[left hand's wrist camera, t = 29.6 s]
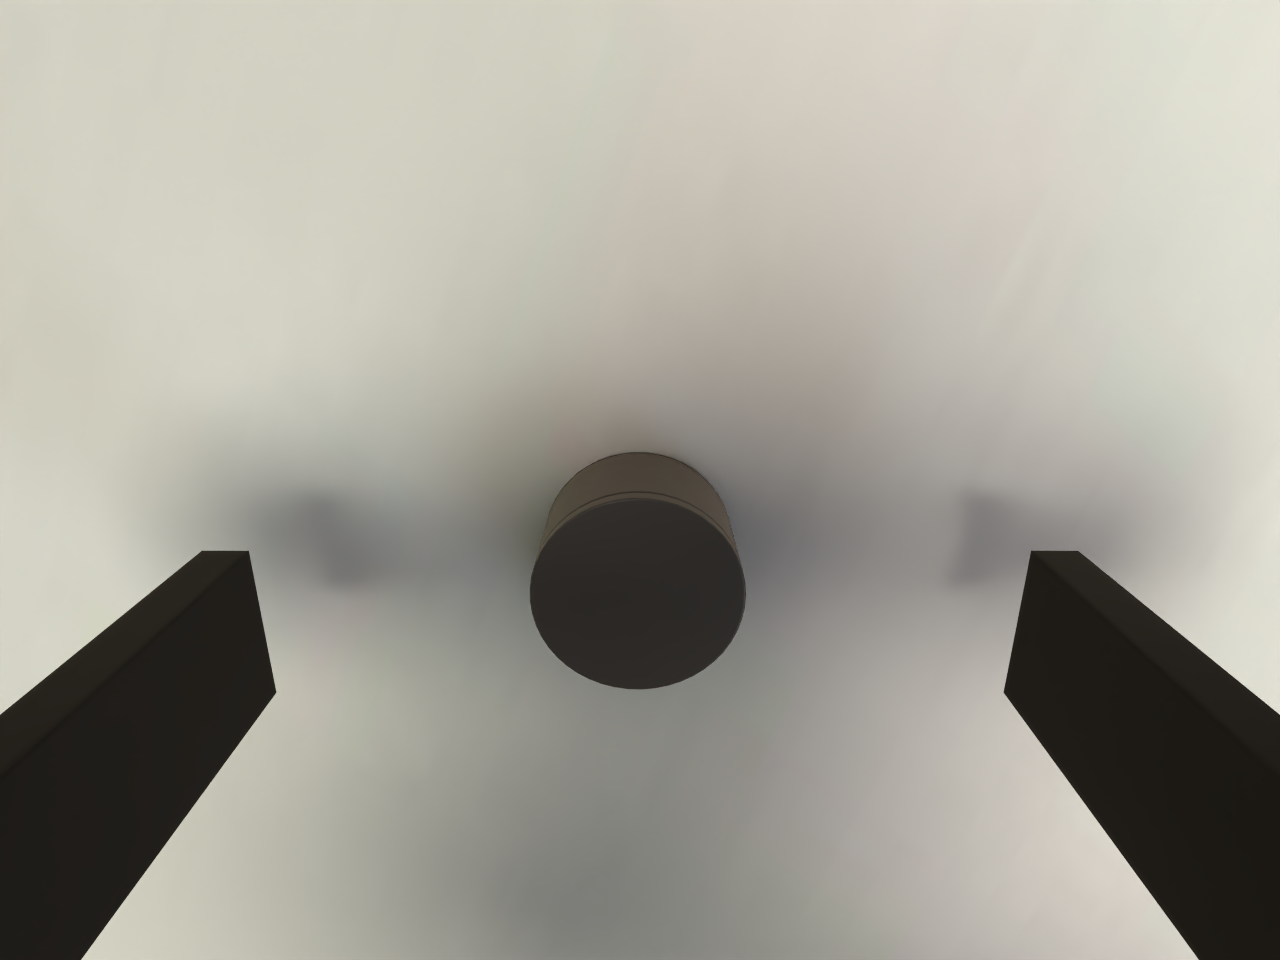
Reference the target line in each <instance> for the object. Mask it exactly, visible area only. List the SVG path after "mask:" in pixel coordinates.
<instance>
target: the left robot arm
mask: <svg viewBox="0 0 1280 960" xmlns="http://www.w3.org/2000/svg"><path fill="white" fill-rule="evenodd" d="M275 694H276V689H275V683H274V678H273V673H272V668H271V663H270V658H269V653H268V647H267V642H266V637H265V632H264V627H263V622H262V617H261V612H260V606H259V601H258V596H257V591H256V586H255V581H254V576H253V571H252V565H251V560H250V555H249V551H201V552H200V553H199V554H198V555H196V556H195V557H194V558H193V559H191V560H190V561H189V562H188V563H186V564H185V565H184V566H183V567H182V568H180V569H179V570H178V571H177V572H175V573H174V574H173V575H172V576H170V577H169V578H168V579H167V580H166V581H164V582H163V583H162V584H161V585H159V586H158V587H157V588H156V589H154V590H153V591H152V592H151V593H150V594H148V595H147V596H146V597H145V598H143V599H142V600H141V601H140V602H138V603H137V604H136V605H135V606H134V607H132V608H131V609H130V610H129V611H127V612H126V613H125V614H124V615H122V616H121V617H120V618H119V619H118V620H116V621H115V622H114V623H113V624H111V625H110V626H109V627H108V628H106V629H105V630H104V631H103V632H102V633H100V634H99V635H98V636H97V637H95V638H94V639H93V640H92V641H91V642H89V643H88V644H87V645H86V646H84V647H83V648H82V649H81V650H79V651H78V652H77V653H76V654H75V655H73V656H72V657H71V658H70V659H68V660H67V661H66V662H65V663H63V664H62V665H61V666H60V667H59V668H57V669H56V670H55V671H54V672H52V673H51V674H50V675H49V676H47V677H46V678H45V679H44V680H43V681H41V682H40V683H39V684H38V685H36V686H35V687H34V688H33V689H31V690H30V691H29V692H28V693H27V694H25V695H24V696H23V697H22V698H20V699H19V700H18V701H17V702H15V703H14V704H13V705H12V706H11V707H9V708H8V709H7V710H6V711H4V712H3V713H2V714H1V715H0V960H81V959H82V958H83V956H84V955H85V953H86V952H87V951H88V949H89V948H90V947H91V945H92V944H93V943H94V941H95V940H96V938H97V937H98V936H99V934H100V933H101V932H102V930H103V929H104V927H105V926H106V925H107V923H108V922H109V921H110V919H111V918H112V917H113V915H114V914H115V912H116V911H117V910H118V908H119V907H120V906H121V904H122V903H123V902H124V900H125V899H126V897H127V896H128V895H129V893H130V892H131V891H132V889H133V888H134V886H135V885H136V884H137V882H138V881H139V880H140V878H141V877H142V876H143V874H144V873H145V871H146V870H147V869H148V867H149V866H150V865H151V863H152V862H153V860H154V859H155V858H156V856H157V855H158V854H159V852H160V851H161V850H162V848H163V847H164V845H165V844H166V843H167V841H168V840H169V839H170V837H171V836H172V834H173V833H174V832H175V830H176V829H177V828H178V826H179V825H180V824H181V822H182V821H183V819H184V818H185V817H186V815H187V814H188V813H189V811H190V810H191V808H192V807H193V806H194V804H195V803H196V802H197V800H198V799H199V798H200V796H201V795H202V793H203V792H204V791H205V789H206V788H207V787H208V785H209V784H210V782H211V781H212V780H213V778H214V777H215V776H216V774H217V773H218V772H219V770H220V769H221V767H222V766H223V765H224V763H225V762H226V761H227V759H228V758H229V756H230V755H231V754H232V752H233V751H234V750H235V748H236V747H237V746H238V744H239V743H240V741H241V740H242V739H243V737H244V736H245V735H246V733H247V732H248V730H249V729H250V728H251V726H252V725H253V724H254V722H255V721H256V720H257V718H258V717H259V715H260V714H261V713H262V711H263V710H264V709H265V707H266V706H267V704H268V703H269V702H270V700H271V699H272V698H273V696H274V695H275ZM1004 694H1005V695H1006V696H1007V698H1008V699H1009V700H1010V702H1011V703H1012V705H1013V706H1014V707H1015V709H1016V710H1017V711H1018V713H1019V714H1020V715H1021V717H1022V718H1023V720H1024V721H1025V722H1026V724H1027V725H1028V726H1029V728H1030V729H1031V731H1032V732H1033V733H1034V735H1035V736H1036V737H1037V739H1038V740H1039V741H1040V743H1041V744H1042V746H1043V747H1044V748H1045V750H1046V751H1047V752H1048V754H1049V755H1050V757H1051V758H1052V759H1053V761H1054V762H1055V763H1056V765H1057V766H1058V767H1059V769H1060V770H1061V772H1062V773H1063V774H1064V776H1065V777H1066V778H1067V780H1068V781H1069V783H1070V784H1071V785H1072V787H1073V788H1074V789H1075V791H1076V792H1077V793H1078V795H1079V796H1080V798H1081V799H1082V800H1083V802H1084V803H1085V804H1086V806H1087V807H1088V809H1089V810H1090V811H1091V813H1092V814H1093V815H1094V817H1095V818H1096V819H1097V821H1098V822H1099V824H1100V825H1101V826H1102V828H1103V829H1104V830H1105V832H1106V833H1107V834H1108V836H1109V837H1110V839H1111V840H1112V841H1113V843H1114V844H1115V845H1116V847H1117V848H1118V850H1119V851H1120V852H1121V854H1122V855H1123V856H1124V858H1125V859H1126V860H1127V862H1128V863H1129V865H1130V866H1131V867H1132V869H1133V870H1134V871H1135V873H1136V874H1137V876H1138V877H1139V878H1140V880H1141V881H1142V882H1143V884H1144V885H1145V886H1146V888H1147V889H1148V891H1149V892H1150V893H1151V895H1152V896H1153V897H1154V899H1155V900H1156V902H1157V903H1158V904H1159V906H1160V907H1161V908H1162V910H1163V911H1164V912H1165V914H1166V915H1167V917H1168V918H1169V919H1170V921H1171V922H1172V923H1173V925H1174V926H1175V928H1176V929H1177V930H1178V932H1179V933H1180V934H1181V936H1182V937H1183V938H1184V940H1185V941H1186V943H1187V944H1188V945H1189V947H1190V948H1191V949H1192V951H1193V952H1194V954H1195V955H1196V956H1197V958H1198V959H1199V960H1280V715H1279V714H1278V713H1277V712H1276V711H1274V710H1273V709H1272V708H1271V707H1269V706H1268V705H1267V704H1266V703H1265V702H1263V701H1262V700H1261V699H1260V698H1258V697H1257V696H1256V695H1255V694H1253V693H1252V692H1251V691H1250V690H1249V689H1247V688H1246V687H1245V686H1244V685H1242V684H1241V683H1240V682H1239V681H1237V680H1236V679H1235V678H1234V677H1233V676H1231V675H1230V674H1229V673H1228V672H1226V671H1225V670H1224V669H1223V668H1221V667H1220V666H1219V665H1218V664H1217V663H1215V662H1214V661H1213V660H1212V659H1210V658H1209V657H1208V656H1207V655H1205V654H1204V653H1203V652H1202V651H1201V650H1199V649H1198V648H1197V647H1196V646H1194V645H1193V644H1192V643H1191V642H1189V641H1188V640H1187V639H1186V638H1185V637H1183V636H1182V635H1181V634H1180V633H1178V632H1177V631H1176V630H1175V629H1173V628H1172V627H1171V626H1170V625H1169V624H1167V623H1166V622H1165V621H1164V620H1162V619H1161V618H1160V617H1159V616H1157V615H1156V614H1155V613H1154V612H1153V611H1151V610H1150V609H1149V608H1148V607H1146V606H1145V605H1144V604H1143V603H1141V602H1140V601H1139V600H1138V599H1137V598H1135V597H1134V596H1133V595H1132V594H1130V593H1129V592H1128V591H1127V590H1125V589H1124V588H1123V587H1122V586H1121V585H1119V584H1118V583H1117V582H1116V581H1114V580H1113V579H1112V578H1111V577H1110V576H1108V575H1107V574H1106V573H1105V572H1103V571H1102V570H1101V569H1100V568H1098V567H1097V566H1096V565H1095V564H1094V563H1092V562H1091V561H1090V560H1089V559H1087V558H1086V557H1085V556H1084V555H1082V554H1081V553H1080V552H1079V551H1031V555H1030V560H1029V565H1028V570H1027V576H1026V581H1025V586H1024V591H1023V596H1022V601H1021V606H1020V611H1019V617H1018V622H1017V627H1016V632H1015V637H1014V642H1013V647H1012V653H1011V658H1010V663H1009V668H1008V673H1007V678H1006V683H1005V688H1004Z"/></svg>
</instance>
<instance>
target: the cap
mask: <svg viewBox="0 0 1280 960" xmlns="http://www.w3.org/2000/svg"><path fill="white" fill-rule="evenodd" d="M745 600H746V587H745V579H744V574H743V569H742V566H741V562H740V558H739V555H738V551H737V547H736V544H735V540H734V536H733V533H732V529H731V525H730V522H729V518H728V515H727V512H726V509H725V507H724V504H723V503H722V501H721V499H720V497H719V495H718V494H717V492H716V491H715V490H714V488H713V487H712V486H711V485H710V484H709V483H708V482H707V481H706V480H705V479H704V477H702V476H701V475H700V474H698V473H697V472H696V471H695V470H693V469H692V468H690V467H688V466H686V465H685V464H683V463H681V462H678V461H676V460H674V459H671V458H668V457H664V456H661V455H655V454H648V453H629V454H621V455H616V456H612V457H608V458H606V459H603V460H600V461H597V462H596V463H594V464H592V465H590V466H588V467H586V468H585V469H583V470H582V471H580V472H579V473H577V474H576V475H575V476H574V477H573V478H572V479H571V480H570V481H569V482H568V483H567V484H566V485H565V486H564V487H563V489H562V490H561V491H560V493H559V494H558V496H557V498H556V499H555V501H554V503H553V505H552V508H551V510H550V513H549V516H548V520H547V523H546V527H545V530H544V534H543V537H542V541H541V544H540V548H539V551H538V555H537V558H536V562H535V565H534V569H533V572H532V576H531V584H530V603H531V609H532V614H533V617H534V621H535V624H536V626H537V628H538V630H539V632H540V635H541V637H542V638H543V640H544V641H545V643H546V644H547V646H548V647H549V648H550V649H551V651H552V652H553V653H554V654H555V655H556V656H557V657H558V658H559V659H560V660H561V661H562V662H563V663H564V664H566V665H567V666H568V667H570V668H571V669H573V670H574V671H575V672H577V673H579V674H581V675H582V676H584V677H586V678H588V679H590V680H593V681H596V682H598V683H601V684H605V685H608V686H612V687H618V688H625V689H651V688H658V687H663V686H668V685H671V684H674V683H678V682H681V681H683V680H685V679H687V678H690V677H692V676H694V675H695V674H697V673H699V672H700V671H702V670H704V669H705V668H706V667H708V666H709V665H710V664H711V663H713V662H714V661H715V660H716V659H717V658H718V657H719V656H720V655H721V654H722V653H723V652H724V650H725V649H726V648H727V647H728V645H729V644H730V643H731V641H732V639H733V638H734V636H735V634H736V632H737V630H738V628H739V625H740V623H741V620H742V617H743V613H744V609H745Z"/></svg>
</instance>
